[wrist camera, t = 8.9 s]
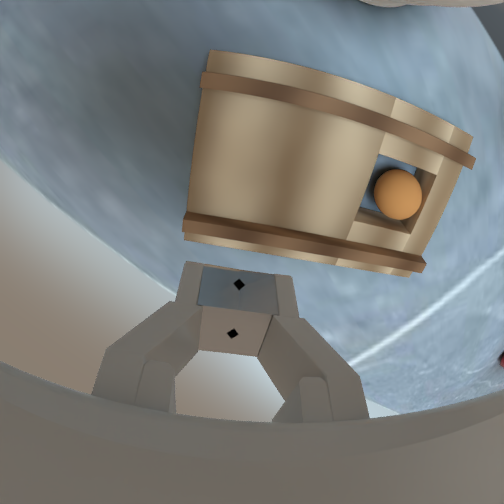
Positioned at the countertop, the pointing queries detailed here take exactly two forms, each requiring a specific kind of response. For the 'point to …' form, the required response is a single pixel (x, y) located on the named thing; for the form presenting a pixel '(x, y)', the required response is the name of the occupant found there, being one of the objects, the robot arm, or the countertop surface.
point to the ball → (398, 194)
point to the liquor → (502, 361)
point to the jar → (432, 3)
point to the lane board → (312, 165)
